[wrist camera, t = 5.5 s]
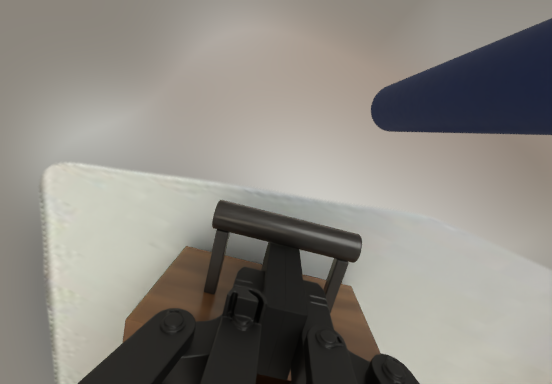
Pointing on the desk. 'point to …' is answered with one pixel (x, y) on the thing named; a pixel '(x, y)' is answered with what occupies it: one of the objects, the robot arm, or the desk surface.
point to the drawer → (223, 269)
